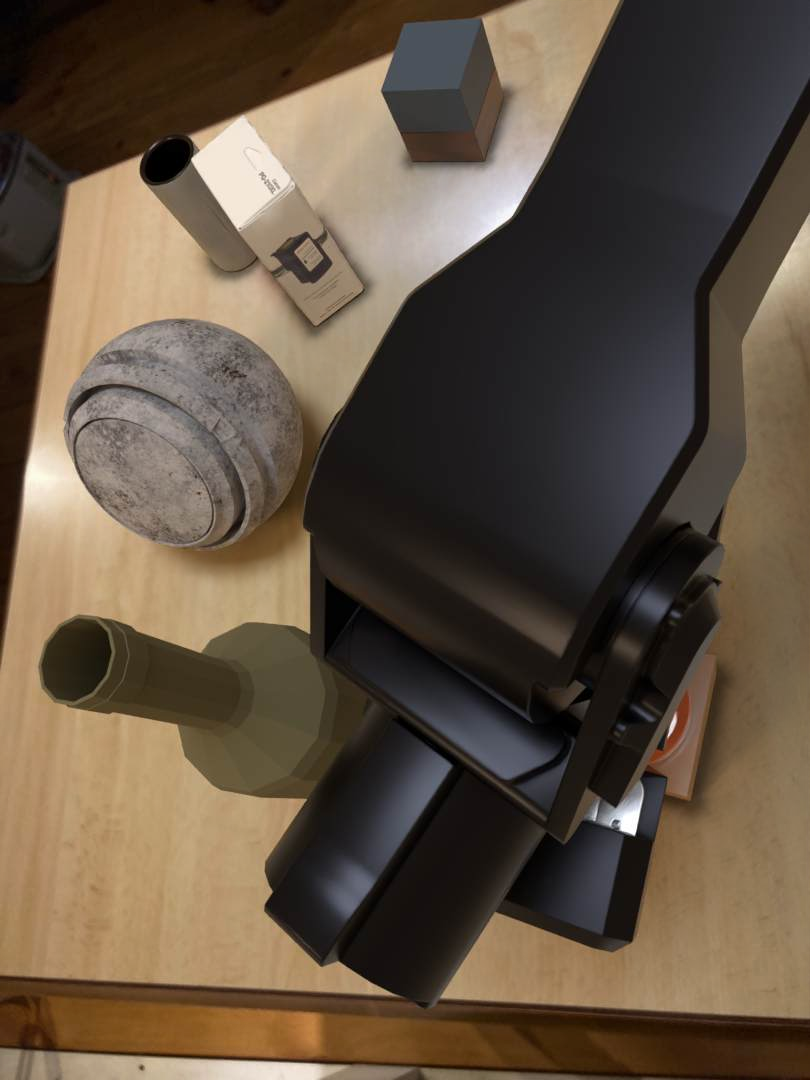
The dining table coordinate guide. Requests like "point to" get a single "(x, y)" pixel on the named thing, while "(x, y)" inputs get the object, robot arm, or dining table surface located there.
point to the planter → (193, 201)
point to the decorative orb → (185, 433)
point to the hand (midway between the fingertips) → (623, 700)
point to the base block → (459, 133)
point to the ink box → (276, 220)
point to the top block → (439, 76)
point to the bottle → (214, 698)
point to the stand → (691, 734)
